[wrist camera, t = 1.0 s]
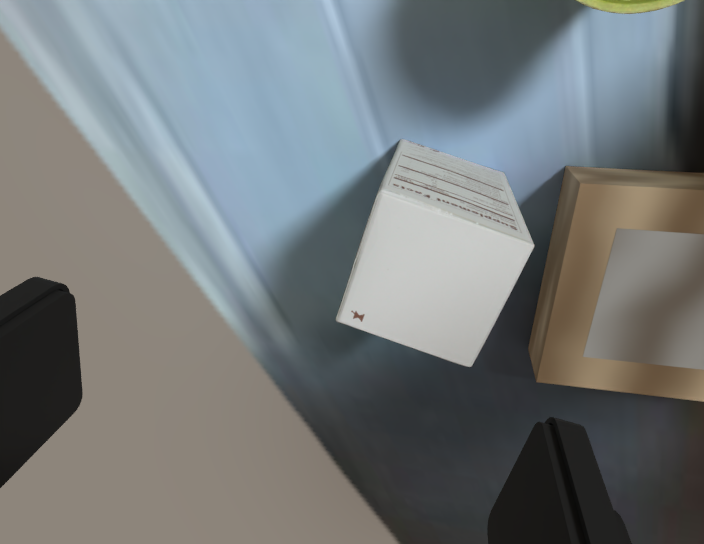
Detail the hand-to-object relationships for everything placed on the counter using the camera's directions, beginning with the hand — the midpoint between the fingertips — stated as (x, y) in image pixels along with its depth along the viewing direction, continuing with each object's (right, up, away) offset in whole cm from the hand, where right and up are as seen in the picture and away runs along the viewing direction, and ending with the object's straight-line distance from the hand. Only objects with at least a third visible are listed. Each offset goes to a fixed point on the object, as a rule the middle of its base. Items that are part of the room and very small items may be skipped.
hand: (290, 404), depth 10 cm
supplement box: (+7, +7, +24) cm, 26 cm away
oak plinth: (+22, +2, +23) cm, 32 cm away
